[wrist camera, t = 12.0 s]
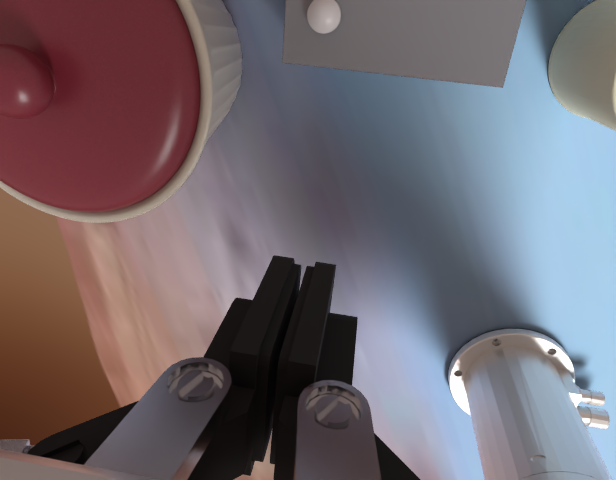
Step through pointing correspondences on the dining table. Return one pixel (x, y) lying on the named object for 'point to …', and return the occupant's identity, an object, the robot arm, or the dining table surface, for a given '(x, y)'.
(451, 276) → the dining table surface
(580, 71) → the can
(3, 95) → the canister
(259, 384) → the robot arm
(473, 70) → the block
